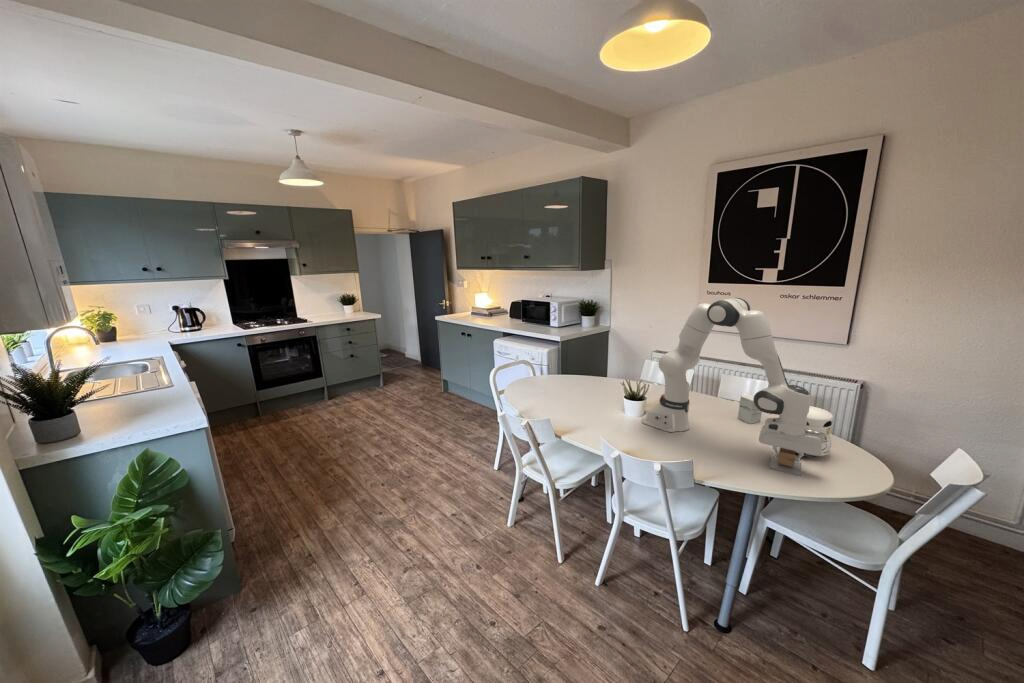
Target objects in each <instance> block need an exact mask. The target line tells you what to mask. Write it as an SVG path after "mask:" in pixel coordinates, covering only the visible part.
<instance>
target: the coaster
mask: <svg viewBox="0 0 1024 683" xmlns="http://www.w3.org/2000/svg"><path fill="white" fill-rule="evenodd" d="M778 459H779V457H776V456H775V455H774V456H773V455H771V456H770V465H769V469H770V470H774V471H779V472H783V473H785V474H786V473H787V474H790V475H794V476H798V477H802V475H803V474H802V463H801V462H800V461H799V462H797V461H795V462H794V467H790V466H786V465H782V464H778Z"/></svg>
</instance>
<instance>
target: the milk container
mask: <svg viewBox="0 0 1024 683" xmlns="http://www.w3.org/2000/svg"><path fill="white" fill-rule="evenodd" d="M833 422H834V416H833V414H832V413H831V412H830V411H828V410H826V409H823V408H820V407H816V406H813V405H810V408H809V413H808V414H807V426H806V429H807V430H812V431H817V432H820V433H821V434H823V435H824V436H825V441H824V443H822V452H821V455H819V456H815V455H810V454H806V453H804V456H806V457H813V458H822V457H824V456H827V455H829V453H830V451H831V448H832V440H831V432H832V428H833ZM821 434H820V435H821ZM797 454H798V455H799V452H797V451H796V455H797ZM804 456H803V457H804Z"/></svg>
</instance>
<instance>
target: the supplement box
mask: <svg viewBox="0 0 1024 683" xmlns="http://www.w3.org/2000/svg"><path fill="white" fill-rule="evenodd" d="M754 395H755V394H754ZM754 395H753V394H751V393H750V394H743V395H740V400H739V405H738V407H739V408H738V414H737V415H738V416H737V419H739V420H741V421H743V422H745V423H747V424H749V425H751V424H752V425H753V424H757V423H760V422H761V420H762V413H763V412H762V411H760V410H759V409H757V407H756V406H755V404H754Z"/></svg>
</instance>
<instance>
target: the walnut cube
mask: <svg viewBox="0 0 1024 683" xmlns="http://www.w3.org/2000/svg"><path fill="white" fill-rule="evenodd" d="M779 452H780V454H779V457H778V458H779V459H778V464H782V465H786V466H790V467H794V462H796V461H795V456H797V453H796V451H793V450H789V449H784V448H780V447H779Z"/></svg>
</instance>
